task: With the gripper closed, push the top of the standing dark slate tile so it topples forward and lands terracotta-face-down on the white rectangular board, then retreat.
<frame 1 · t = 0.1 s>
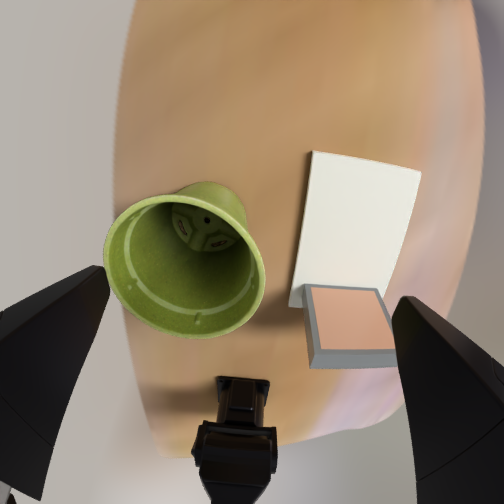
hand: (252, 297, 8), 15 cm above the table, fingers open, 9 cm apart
plant pot: (208, 215, 23), on the table
slate tile: (340, 293, 25), point 1 cm above the table, touching white rectangular board
white rectangular board: (352, 241, 23), on the table
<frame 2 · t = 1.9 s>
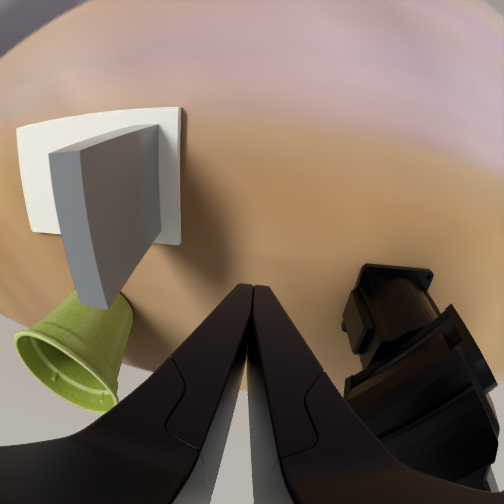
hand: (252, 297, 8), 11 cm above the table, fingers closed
plant pot: (105, 305, 23), on the table
slate tile: (147, 179, 17), point 1 cm above the table, touching white rectangular board
white rectangular board: (88, 176, 17), on the table
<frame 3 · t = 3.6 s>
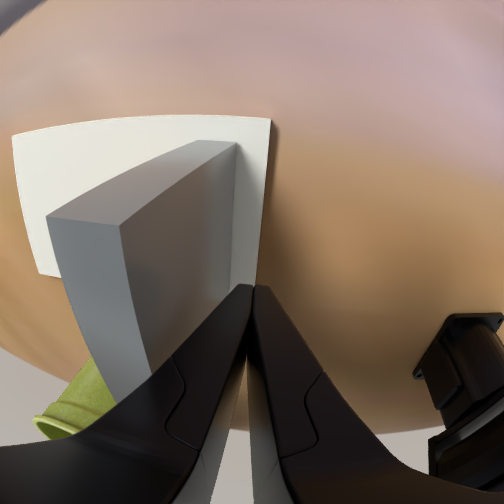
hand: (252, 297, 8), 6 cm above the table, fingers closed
plant pot: (138, 359, 19), on the table
slate tile: (214, 221, 12), point 1 cm above the table, tilted 5°, touching white rectangular board
white rectangular board: (118, 209, 13), on the table
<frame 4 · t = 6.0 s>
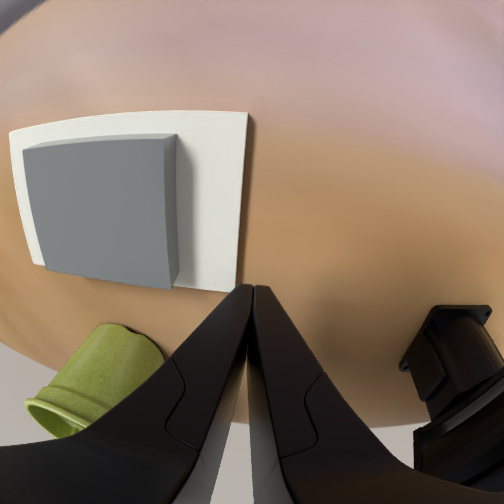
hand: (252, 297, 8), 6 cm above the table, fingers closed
plant pot: (128, 348, 20), on the table
slate tile: (171, 215, 12), point 1 cm above the table, tilted 90°, touching white rectangular board
white rectangular board: (108, 200, 13), on the table
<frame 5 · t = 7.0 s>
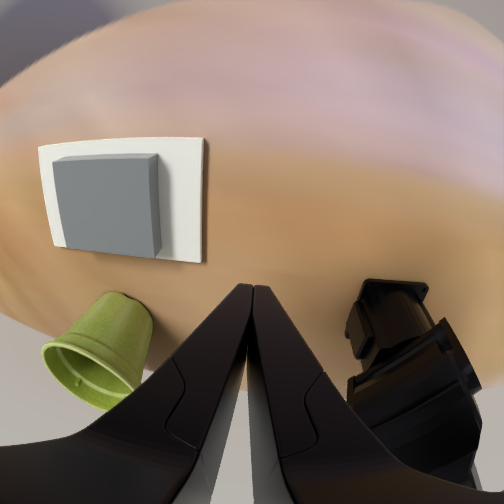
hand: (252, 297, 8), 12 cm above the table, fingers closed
plant pot: (125, 314, 26), on the table
slate tile: (155, 207, 18), point 1 cm above the table, tilted 90°, touching white rectangular board
white rectangular board: (113, 197, 19), on the table
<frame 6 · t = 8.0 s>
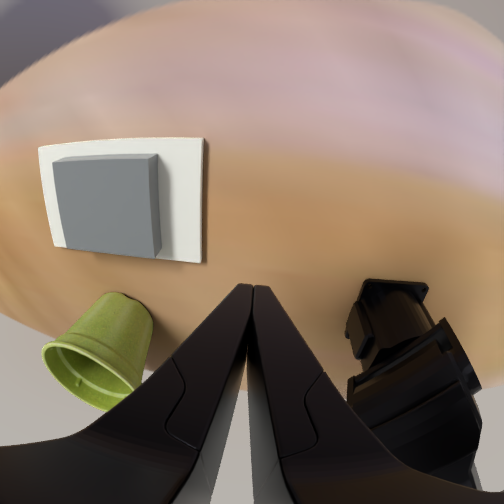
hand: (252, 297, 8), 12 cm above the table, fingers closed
plant pot: (125, 314, 26), on the table
slate tile: (155, 207, 18), point 1 cm above the table, tilted 90°, touching white rectangular board
white rectangular board: (113, 198, 19), on the table
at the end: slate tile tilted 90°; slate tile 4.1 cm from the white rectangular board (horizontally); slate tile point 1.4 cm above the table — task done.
